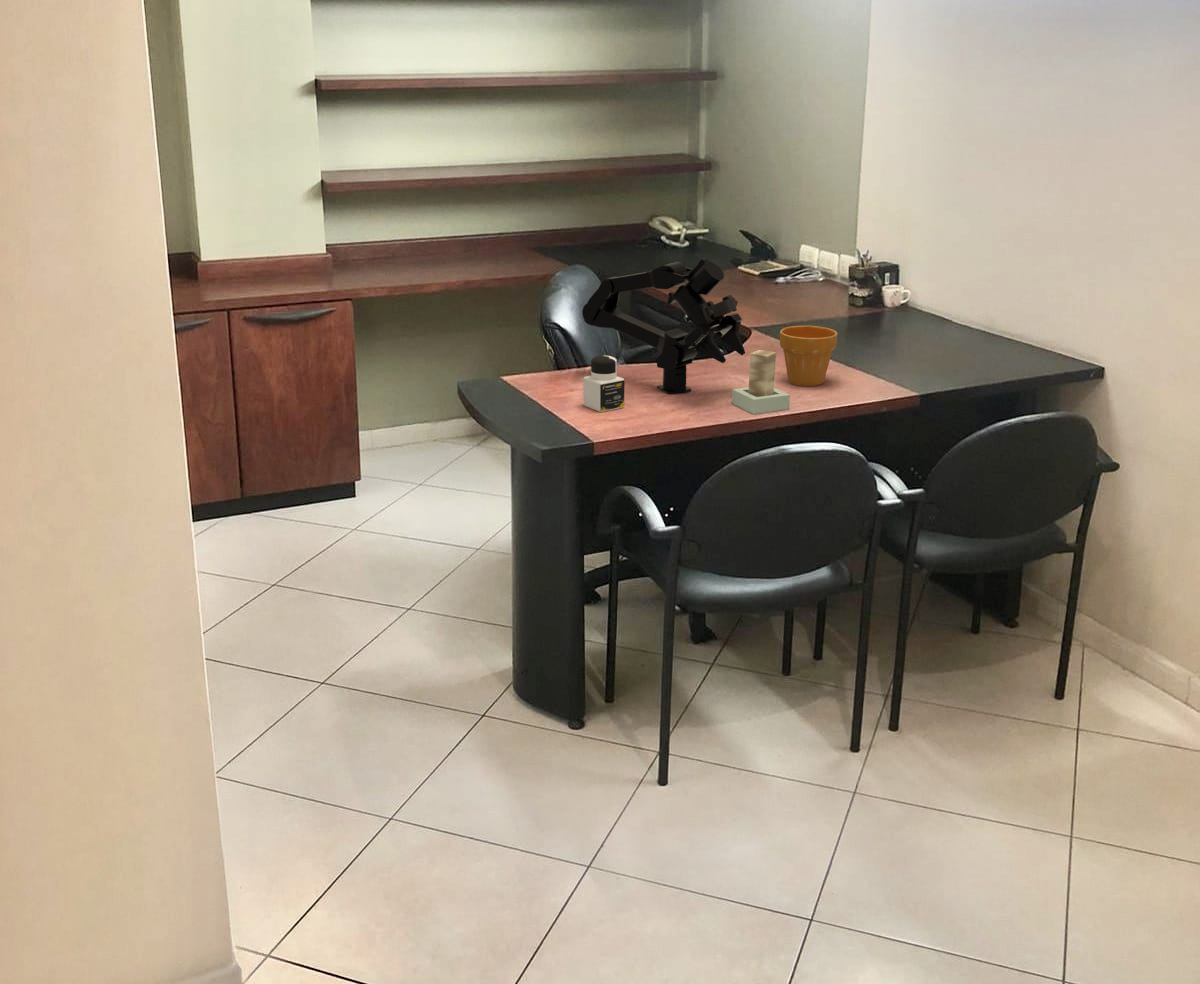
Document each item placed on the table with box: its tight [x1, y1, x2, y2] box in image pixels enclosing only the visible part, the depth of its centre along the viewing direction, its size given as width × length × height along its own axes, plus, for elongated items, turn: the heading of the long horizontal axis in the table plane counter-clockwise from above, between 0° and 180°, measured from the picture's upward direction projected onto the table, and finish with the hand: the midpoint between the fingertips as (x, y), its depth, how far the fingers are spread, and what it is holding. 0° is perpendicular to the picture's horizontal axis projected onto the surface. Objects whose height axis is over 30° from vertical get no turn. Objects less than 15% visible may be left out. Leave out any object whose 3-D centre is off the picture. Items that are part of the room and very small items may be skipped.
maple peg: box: [748, 349, 777, 397], centre depth 289 cm, size 4×4×13 cm
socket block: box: [731, 386, 791, 415], centre depth 290 cm, size 10×10×4 cm
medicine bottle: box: [582, 355, 625, 413], centre depth 288 cm, size 7×7×12 cm
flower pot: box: [779, 325, 838, 387], centre depth 309 cm, size 14×14×13 cm
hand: (734, 358), depth 291 cm, fingers open, 9 cm apart
